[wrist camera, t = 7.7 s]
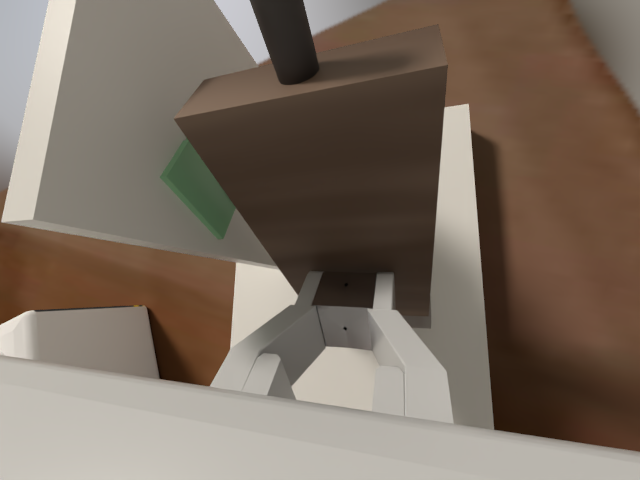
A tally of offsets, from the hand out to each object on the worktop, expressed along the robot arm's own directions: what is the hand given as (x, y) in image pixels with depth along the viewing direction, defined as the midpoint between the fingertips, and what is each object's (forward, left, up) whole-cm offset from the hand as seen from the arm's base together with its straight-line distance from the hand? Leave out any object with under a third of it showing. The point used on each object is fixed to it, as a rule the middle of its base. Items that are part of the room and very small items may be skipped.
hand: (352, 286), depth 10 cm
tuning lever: (-1, 0, -4) cm, 4 cm away
